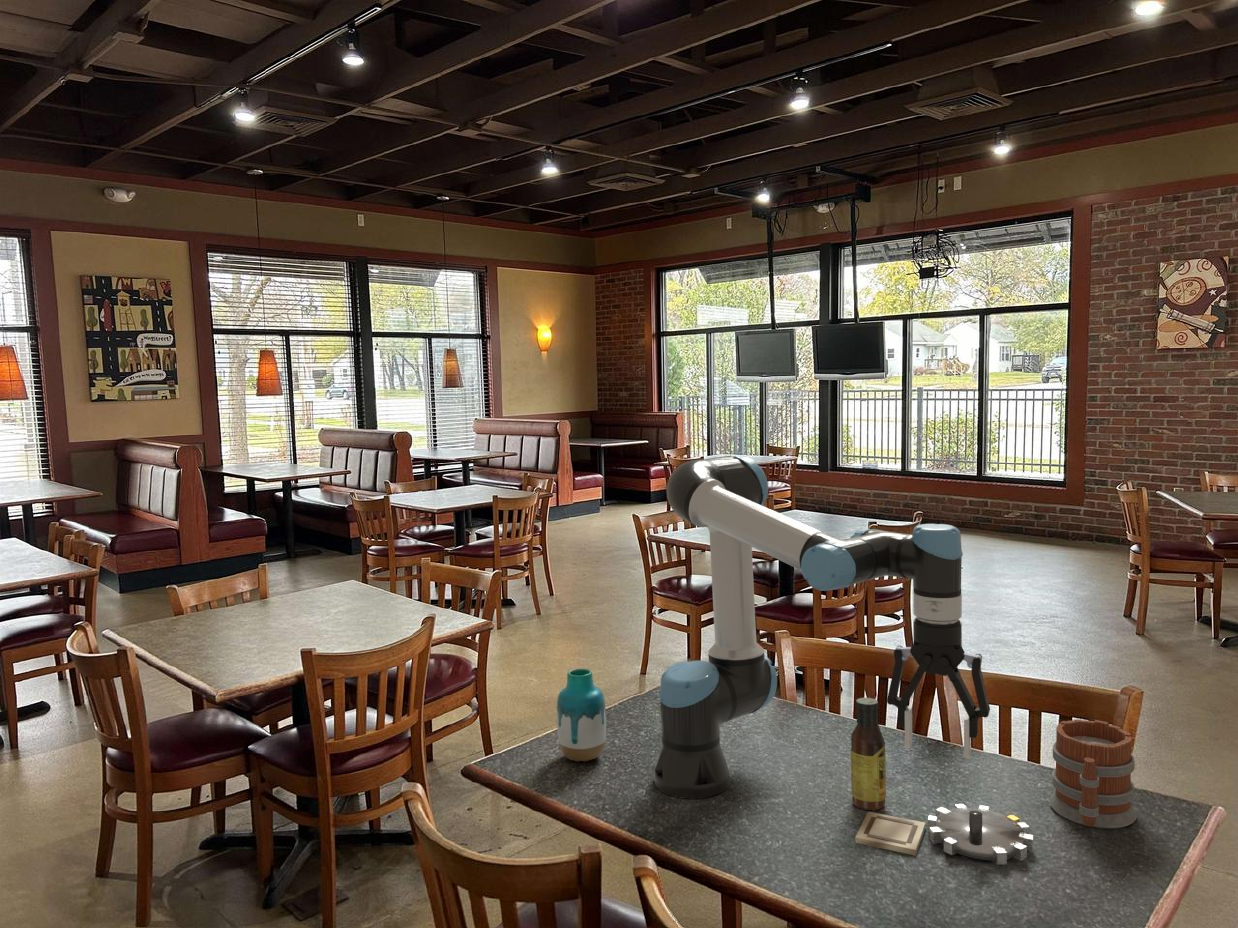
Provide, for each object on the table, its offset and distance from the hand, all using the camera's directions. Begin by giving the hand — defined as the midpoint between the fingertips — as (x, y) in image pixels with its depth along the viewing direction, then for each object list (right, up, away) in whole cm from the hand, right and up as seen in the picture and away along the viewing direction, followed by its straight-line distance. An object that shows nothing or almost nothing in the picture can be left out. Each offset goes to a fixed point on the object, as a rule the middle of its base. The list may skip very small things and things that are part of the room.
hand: (937, 750), depth 147 cm
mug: (+31, -16, +10) cm, 37 cm away
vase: (-61, -16, +43) cm, 76 cm away
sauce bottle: (-6, -16, +18) cm, 25 cm away
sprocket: (+8, -17, +4) cm, 19 cm away
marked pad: (-6, -17, +7) cm, 19 cm away
